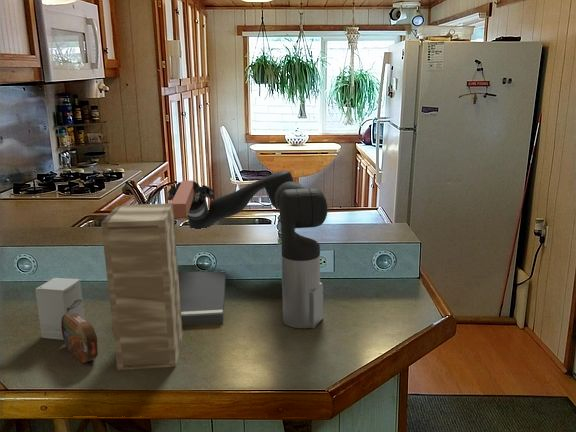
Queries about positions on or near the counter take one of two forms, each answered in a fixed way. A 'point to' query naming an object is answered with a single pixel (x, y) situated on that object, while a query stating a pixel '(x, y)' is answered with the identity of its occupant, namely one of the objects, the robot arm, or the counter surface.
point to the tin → (79, 337)
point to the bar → (183, 199)
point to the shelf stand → (143, 285)
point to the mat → (202, 297)
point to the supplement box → (58, 304)
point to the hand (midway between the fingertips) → (186, 185)
